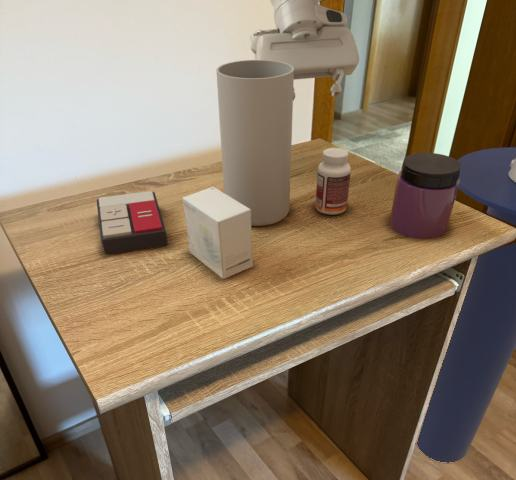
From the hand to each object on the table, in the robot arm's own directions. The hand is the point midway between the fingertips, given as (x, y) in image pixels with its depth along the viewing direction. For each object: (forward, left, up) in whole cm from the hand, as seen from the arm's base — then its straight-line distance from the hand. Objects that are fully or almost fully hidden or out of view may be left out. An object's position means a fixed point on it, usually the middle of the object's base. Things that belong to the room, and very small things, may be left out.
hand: (314, 97), depth 93 cm
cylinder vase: (+15, +8, -17) cm, 24 cm away
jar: (-11, +24, -17) cm, 32 cm away
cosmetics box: (+27, +22, -17) cm, 39 cm away
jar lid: (-11, +24, -6) cm, 27 cm away
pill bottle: (+1, +12, -17) cm, 21 cm away
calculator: (+39, +6, -17) cm, 43 cm away
